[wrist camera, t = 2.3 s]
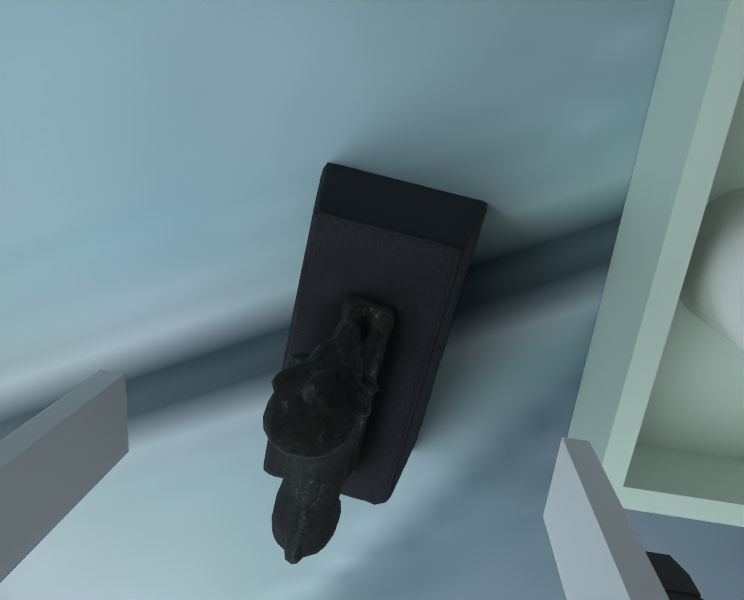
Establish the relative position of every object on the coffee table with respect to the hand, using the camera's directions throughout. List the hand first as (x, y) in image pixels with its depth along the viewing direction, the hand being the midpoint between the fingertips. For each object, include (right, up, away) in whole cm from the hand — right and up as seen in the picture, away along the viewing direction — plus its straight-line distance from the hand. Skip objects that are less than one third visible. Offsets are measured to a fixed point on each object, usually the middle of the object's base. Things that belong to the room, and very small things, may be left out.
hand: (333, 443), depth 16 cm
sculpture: (+1, +4, +10) cm, 10 cm away
